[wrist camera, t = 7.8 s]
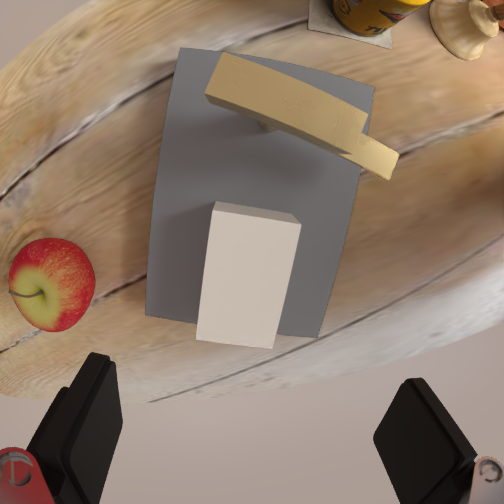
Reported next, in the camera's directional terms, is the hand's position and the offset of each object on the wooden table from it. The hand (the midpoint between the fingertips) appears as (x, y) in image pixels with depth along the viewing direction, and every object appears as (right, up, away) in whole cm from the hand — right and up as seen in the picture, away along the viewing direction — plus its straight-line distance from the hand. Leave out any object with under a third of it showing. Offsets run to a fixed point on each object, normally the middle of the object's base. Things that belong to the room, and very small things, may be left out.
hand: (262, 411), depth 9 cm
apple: (-19, +3, +20) cm, 27 cm away
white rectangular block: (-1, +4, +17) cm, 18 cm away
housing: (0, +10, +18) cm, 21 cm away
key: (+3, +14, +14) cm, 20 cm away
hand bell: (+23, +30, +14) cm, 40 cm away
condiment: (+9, +28, +13) cm, 33 cm away
